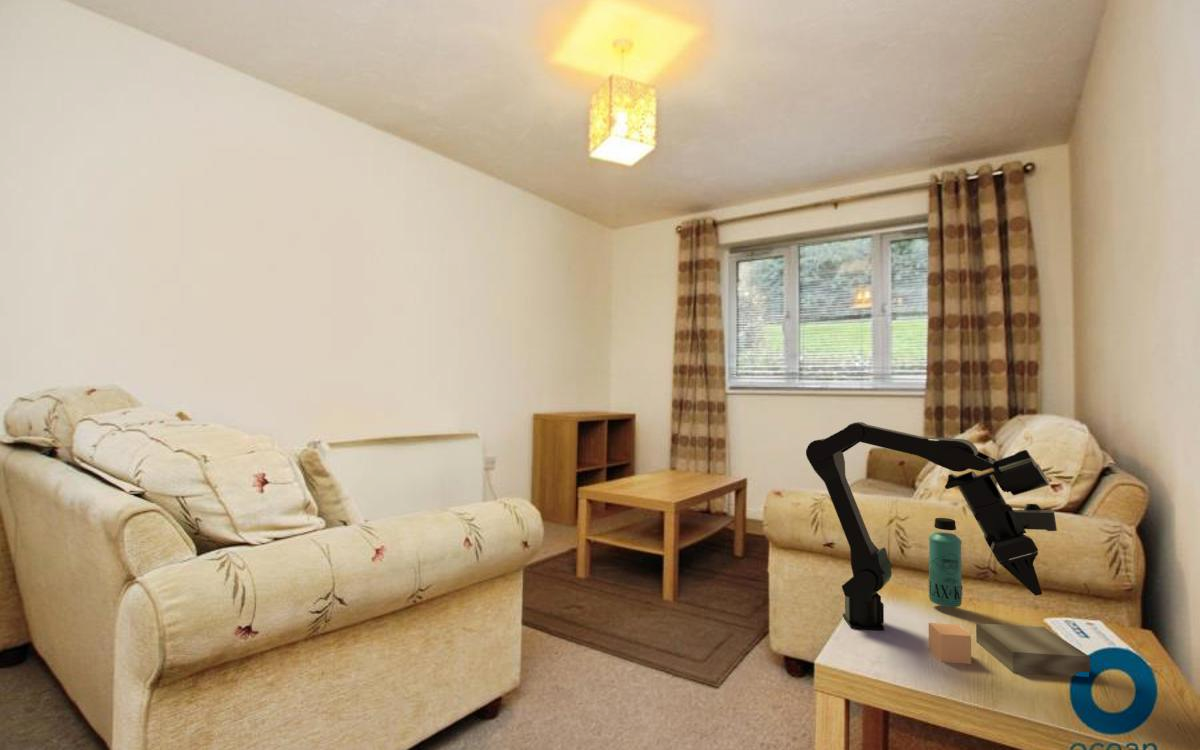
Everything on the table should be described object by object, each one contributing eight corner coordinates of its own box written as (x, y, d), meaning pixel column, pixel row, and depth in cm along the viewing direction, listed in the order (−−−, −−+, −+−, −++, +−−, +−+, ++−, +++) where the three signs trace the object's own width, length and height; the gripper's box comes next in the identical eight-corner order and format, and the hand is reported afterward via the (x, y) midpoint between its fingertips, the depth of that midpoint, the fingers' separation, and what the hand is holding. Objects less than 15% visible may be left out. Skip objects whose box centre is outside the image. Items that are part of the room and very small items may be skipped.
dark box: (1013, 675, 97) (1012, 651, 97) (976, 644, 109) (976, 623, 109) (1090, 680, 95) (1089, 656, 96) (1044, 648, 107) (1043, 626, 107)
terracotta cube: (941, 662, 101) (940, 634, 101) (928, 649, 106) (928, 622, 106) (971, 664, 100) (970, 635, 100) (957, 651, 105) (957, 624, 105)
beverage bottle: (921, 603, 128) (920, 515, 129) (948, 602, 129) (947, 515, 130) (942, 615, 122) (941, 522, 122) (970, 613, 123) (969, 521, 123)
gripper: (1044, 492, 93) (1101, 587, 88) (1027, 485, 109) (1075, 565, 104) (972, 514, 97) (1022, 606, 93) (966, 504, 113) (1009, 582, 109)
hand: (1034, 588), depth 99 cm, fingers open, 9 cm apart
